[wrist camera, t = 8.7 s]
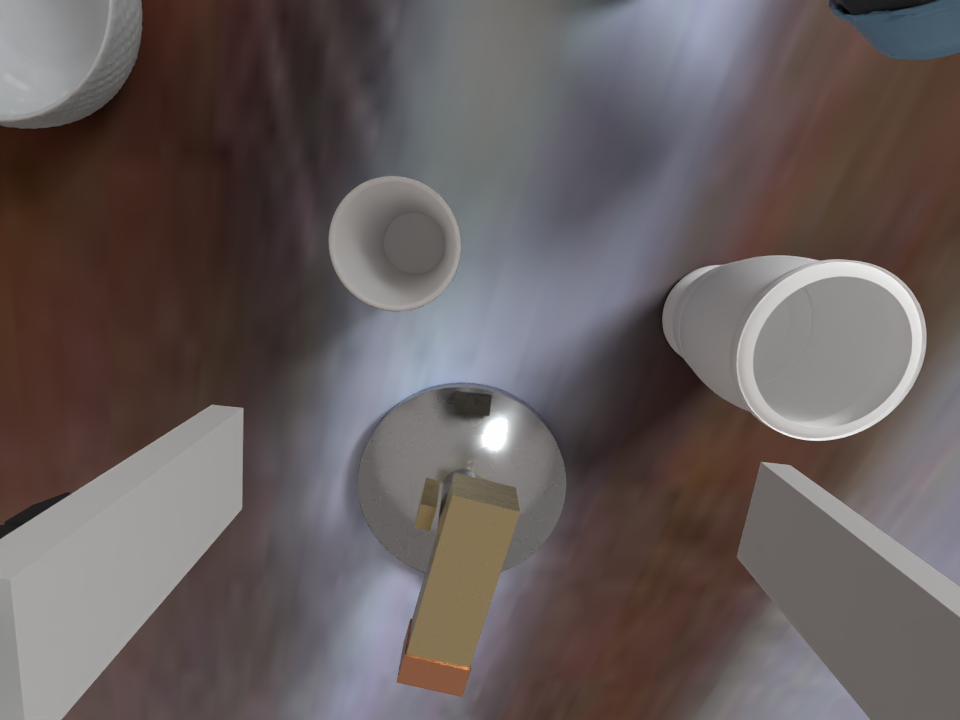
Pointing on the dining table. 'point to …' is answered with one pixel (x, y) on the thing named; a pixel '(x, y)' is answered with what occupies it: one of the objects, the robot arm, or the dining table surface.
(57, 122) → the cereal bowl
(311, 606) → the dining table surface
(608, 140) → the dining table surface
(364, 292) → the dixie cup
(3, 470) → the dining table surface
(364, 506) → the post base
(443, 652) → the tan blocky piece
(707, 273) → the jar
